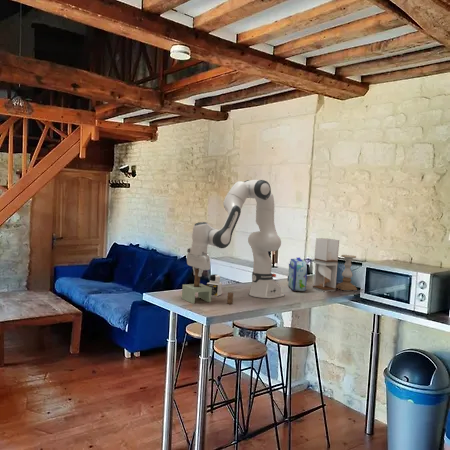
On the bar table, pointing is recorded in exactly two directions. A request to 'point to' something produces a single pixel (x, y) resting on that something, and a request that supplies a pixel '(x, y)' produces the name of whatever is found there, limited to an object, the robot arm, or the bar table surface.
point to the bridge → (190, 290)
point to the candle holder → (347, 275)
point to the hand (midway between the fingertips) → (197, 275)
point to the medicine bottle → (215, 285)
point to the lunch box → (297, 274)
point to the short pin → (230, 298)
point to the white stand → (326, 264)
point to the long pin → (196, 278)
